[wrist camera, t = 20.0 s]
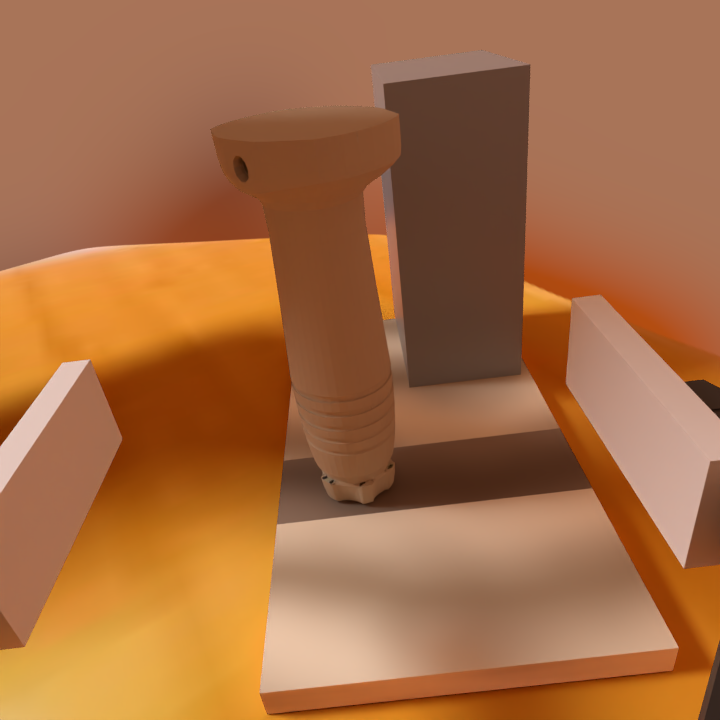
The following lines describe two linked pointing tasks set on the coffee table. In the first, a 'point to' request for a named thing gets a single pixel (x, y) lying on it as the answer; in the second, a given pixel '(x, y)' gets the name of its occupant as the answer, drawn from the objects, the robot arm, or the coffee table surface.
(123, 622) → the coffee table surface
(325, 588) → the subfloor panel
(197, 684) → the coffee table surface
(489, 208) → the tall rectangular block
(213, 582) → the coffee table surface
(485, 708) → the coffee table surface
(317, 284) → the handle
